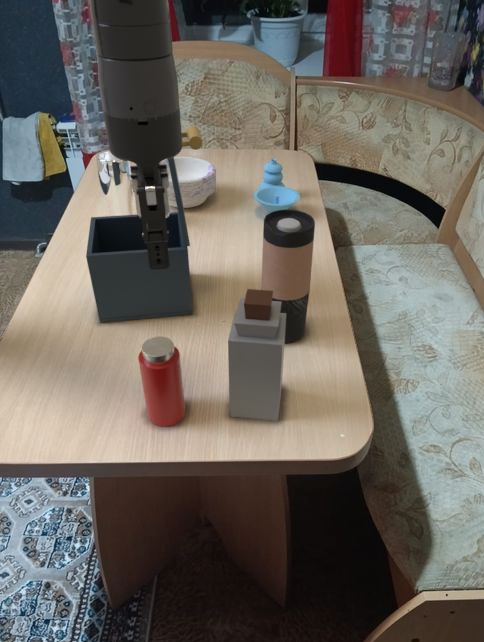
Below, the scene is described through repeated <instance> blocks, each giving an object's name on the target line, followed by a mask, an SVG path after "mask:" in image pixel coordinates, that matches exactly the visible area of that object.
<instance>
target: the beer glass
mask: <svg viewBox="0 0 484 642" xmlns="http://www.w3.org/2000/svg"><path fill="white" fill-rule="evenodd" d="M96 166H97V167H96V168H97V174H98V176H97V177H98V180H99V184H100V188H101V190H102V191H101V192H102V194H103V197H104V200H105V203H106V205H107V209H108V216H121V215H136V212H135V209H134V192H133V190H132V187H131V178H130V175H131V171H130V166H132V162H130V161H123V160H120V159H118V158H116V157H115V156H113V155H112V154H111V152H110V150H109V149H108V150H103V151H101V152H99V153H97V154H96Z"/></svg>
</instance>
